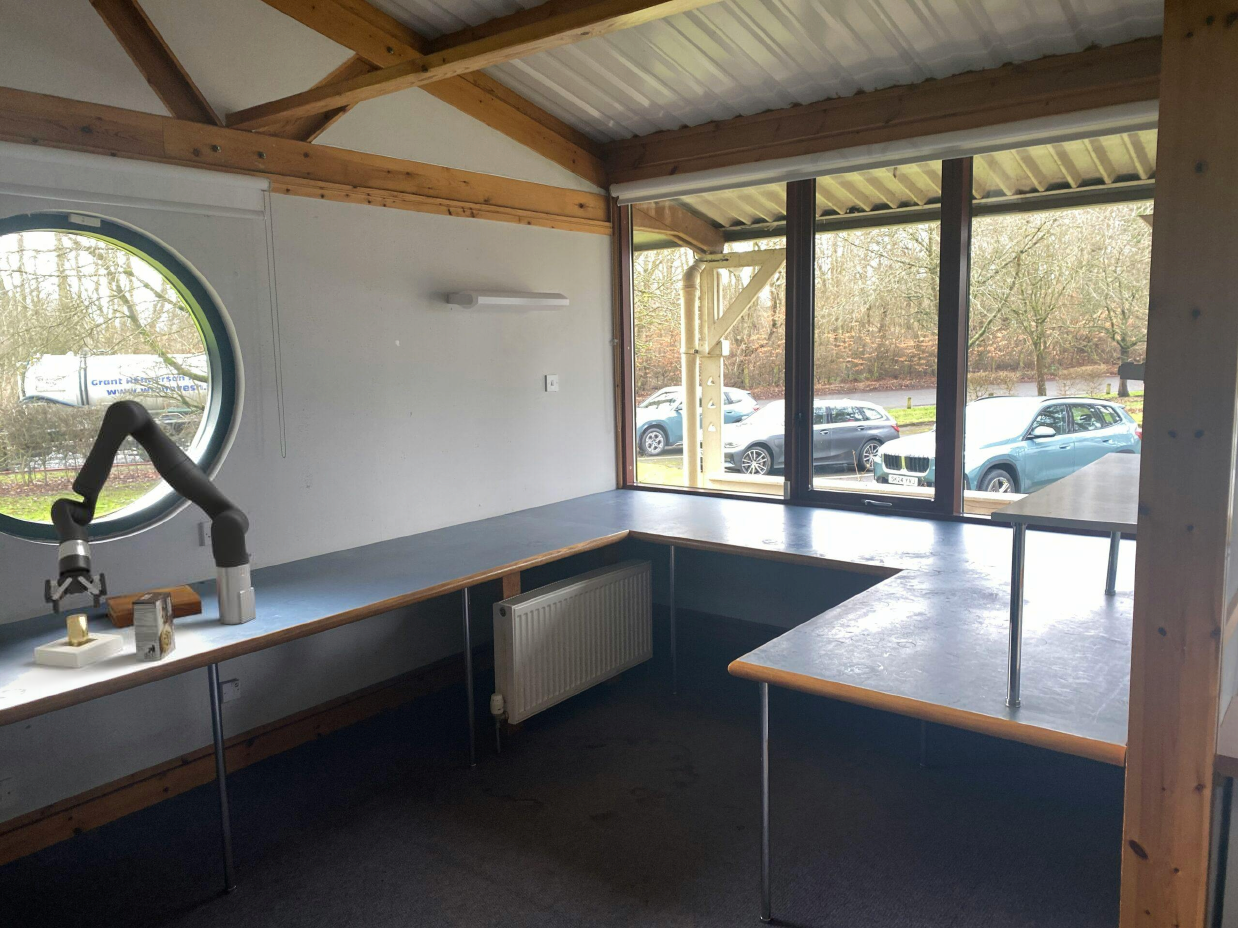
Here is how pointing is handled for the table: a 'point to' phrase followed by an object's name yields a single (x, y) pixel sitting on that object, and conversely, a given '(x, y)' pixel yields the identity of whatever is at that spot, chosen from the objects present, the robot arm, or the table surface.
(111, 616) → the brown wooden box
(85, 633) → the peg
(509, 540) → the table surface
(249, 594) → the robot arm
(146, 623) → the coffee box
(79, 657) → the socket
